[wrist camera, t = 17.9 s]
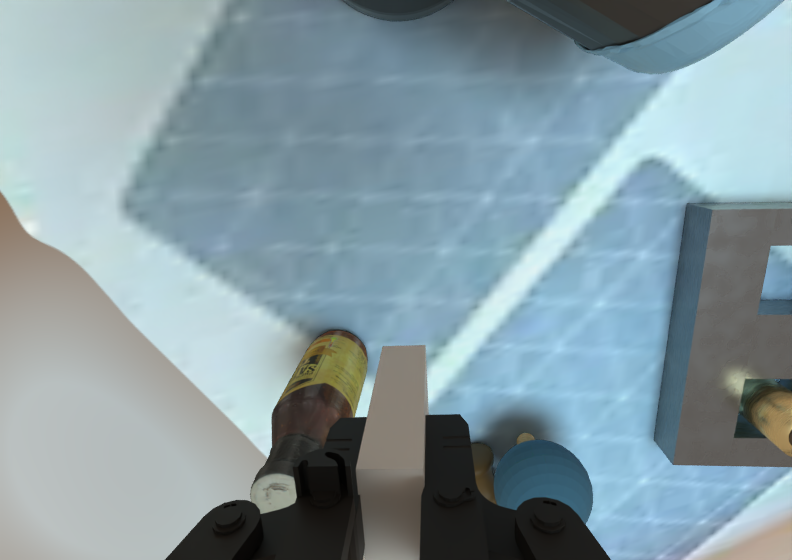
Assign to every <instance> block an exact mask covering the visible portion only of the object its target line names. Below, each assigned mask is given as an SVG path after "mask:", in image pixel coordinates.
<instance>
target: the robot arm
mask: <svg viewBox="0 0 792 560" xmlns="http://www.w3.org/2000/svg"><path fill="white" fill-rule="evenodd" d="M343 1H344V2H346V3H347V4H348V5H350V6H351V7H353V8H354V9H356V10H358V11H360V12H361V13H364V14H366V15H368V16H371V17H374V18H378V19H383V20H389V21H407V20H413V19H418V18H422V17H425V16H428V15H430V14H432V13H435V12H437V11H439V10H440V9H442V8H444V7H445V6H447V5H448V4H450V3H451V2H452V1H454V0H343ZM506 1H508V2H509V3H511V4H513V5H514V6H516V7H518V8H520V9H521V10H523V11H525V12H526V13H528V14H530V15H532V16H533V17H535V18H537V19H539V20H540V21H542V22H544V23H545V24H547V25H549V26H551V27H552V28H554V29H556V30H558V31H559V32H561V33H563V34H564V35H566V36H568V37H570V38H571V39H573V40H574V42H575V44H576V45H577V46H578V47H579V48H580V49H582V50H583V51H585V52H587V53H592V54H594V55H602V56H604V57H606V58H608V59H610V60H612V61H614V62H616V63H618V64H620V65H622V66H624V67H625V68H627V69H630V70H632V71H634V72H638V73H646V74H663V73H667V72H672V71H675V70H679V69H682V68H684V67H687V66H689V65H692V64H694V63H696V62H698V61H700V60H702V59H704V58H706V57H708V56H710V55H711V54H713V53H715V52H716V51H718V50H720V49H721V48H723V47H724V46H726V45H727V44H729V43H730V42H732V41H733V40H735V39H736V38H738V37H739V36H741V35H742V34H744V33H745V32H746V31H747V30H749V29H750V28H751V27H753V26H754V25H755V24H757V23H758V22H759V21H761V20H762V19H763V18H764V17H766V16H767V15H768V14H769V13H770V12H772V11H773V10H774V9H775V8H776V7H777V6H778V5H780V4H781V3H782V2H783V1H784V0H506ZM293 474H294V481H295V488H296V495H297V498H296V501H295V503H294V504H292V505H290V506H288V507H285V508H282V509H279V510H275V511H271V512H267V513H263V514H261V513H260V509H259V508H258V507H257V505H256V504H255V503H252V502H250V501H247V500H235V501H231V502H227V503H223V504H222V505H220V506H217V507H216V508H214V509H212V510H211V511H210V512H209V513H208V514H206V515H205V516H204V517H203V518H202V519H201V520H200V522H199V523H198V524H197V525H196V526H195V527H194V528H193V529H192V530H191V531H190V533H189V534H188V535H187V536H186V537H185V538H184V539H183V540H182V541H181V543H180V544H179V545H178V546H177V547H176V548H175V549H174V550H173V551H172V553H171V554H170V555H169V556H168V557H167V558H166V559H165V560H363V555H364V558H365V560H611V559H610V558H609V557H608V555H607V554H606V552H605V551H604V550H603V548H602V547H601V546H600V544H599V543H598V541H597V540H596V539H595V537H594V536H593V534H592V533H591V532H590V530H589V529H588V528H587V526H586V525H585V523H584V522H583V521H582V519H581V518H580V517H579V515H578V514H577V513H576V512H575V511H574V510H573V509H572V508H571V507H570V506H569V505H567V504H565V503H563V502H561V501H559V500H556V499H551V498H547V497H535V498H531V499H528V500H526V501H524V502H523V503H521V504H520V505H519V506H518V507H517V510H513V509H509V508H505V507H502V506H499V505H496V504H494V503H493V502H491V501H489V500H488V499H486V498H485V497H484V496H483V495H482V494H481V492H480V491H479V490H478V487H477V484H476V478H475V470H474V463H473V456H472V449H471V441H470V434H469V427H468V424H467V422H466V421H465V420H464V419H463V418H462V417H461V415H460V414H452V415H429V411H428V390H427V369H426V348H425V345H414V346H383V347H382V352H381V356H380V361H379V365H378V370H377V375H376V379H375V384H374V388H373V393H372V397H371V402H370V406H369V411H368V415H367V417H354V418H340V419H339V420H338V421H337V422H336V423H335V424H334V425H332V426H331V427H330V430H329V433H328V435H327V438H326V442H325V444H324V447H323V449H318V450H314V451H312V452H309V453H306V454H305V455H303V456H302V457H300V458H299V459H298V460H297V461H296V462H295V464H294V465H293Z"/></svg>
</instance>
